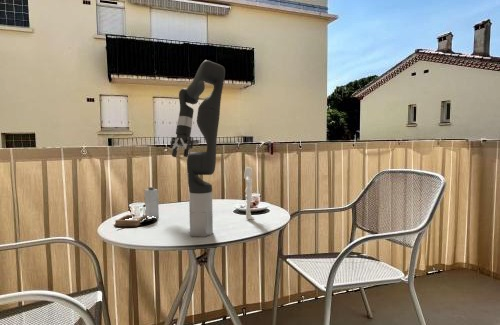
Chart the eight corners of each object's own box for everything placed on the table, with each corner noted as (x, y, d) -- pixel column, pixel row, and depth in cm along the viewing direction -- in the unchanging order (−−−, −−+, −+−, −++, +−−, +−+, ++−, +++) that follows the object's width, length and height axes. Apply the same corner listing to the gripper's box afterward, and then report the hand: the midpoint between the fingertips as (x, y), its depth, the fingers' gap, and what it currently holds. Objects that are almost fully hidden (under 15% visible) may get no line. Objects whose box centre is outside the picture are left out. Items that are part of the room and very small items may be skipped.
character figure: (255, 226, 137) (255, 169, 135) (244, 226, 137) (243, 169, 134) (253, 212, 161) (253, 164, 159) (244, 212, 161) (244, 164, 159)
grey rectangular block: (158, 217, 152) (157, 187, 151) (151, 219, 148) (149, 188, 147) (153, 216, 155) (152, 186, 153) (145, 218, 151) (144, 187, 150)
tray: (137, 226, 137) (136, 220, 137) (115, 225, 138) (115, 220, 138) (147, 220, 147) (146, 215, 147) (126, 219, 148) (126, 214, 148)
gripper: (199, 127, 161) (194, 158, 159) (180, 129, 169) (175, 158, 167) (188, 123, 155) (183, 155, 153) (169, 125, 163) (164, 155, 161)
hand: (179, 156), depth 160 cm, fingers open, 8 cm apart
